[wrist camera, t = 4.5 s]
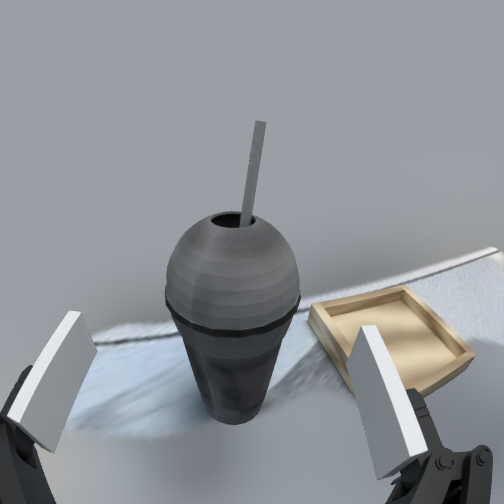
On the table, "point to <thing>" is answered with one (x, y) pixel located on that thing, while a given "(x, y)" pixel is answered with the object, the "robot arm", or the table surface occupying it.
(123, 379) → the table surface
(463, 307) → the table surface
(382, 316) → the tray
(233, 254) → the beverage cup
